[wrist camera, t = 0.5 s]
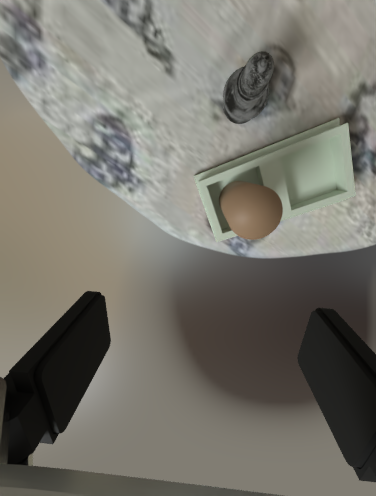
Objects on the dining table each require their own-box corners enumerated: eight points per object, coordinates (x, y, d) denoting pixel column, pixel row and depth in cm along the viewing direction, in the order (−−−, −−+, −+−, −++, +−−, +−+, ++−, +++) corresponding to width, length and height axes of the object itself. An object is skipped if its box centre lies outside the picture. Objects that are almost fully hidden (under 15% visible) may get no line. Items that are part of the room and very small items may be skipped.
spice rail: (334, 119, 29) (427, 82, 17) (344, 198, 33) (426, 213, 21) (193, 176, 34) (188, 178, 21) (216, 240, 37) (222, 273, 25)
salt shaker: (270, 93, 29) (313, 44, 18) (245, 134, 31) (270, 112, 20) (236, 69, 28) (258, 1, 17) (213, 112, 30) (219, 76, 19)
